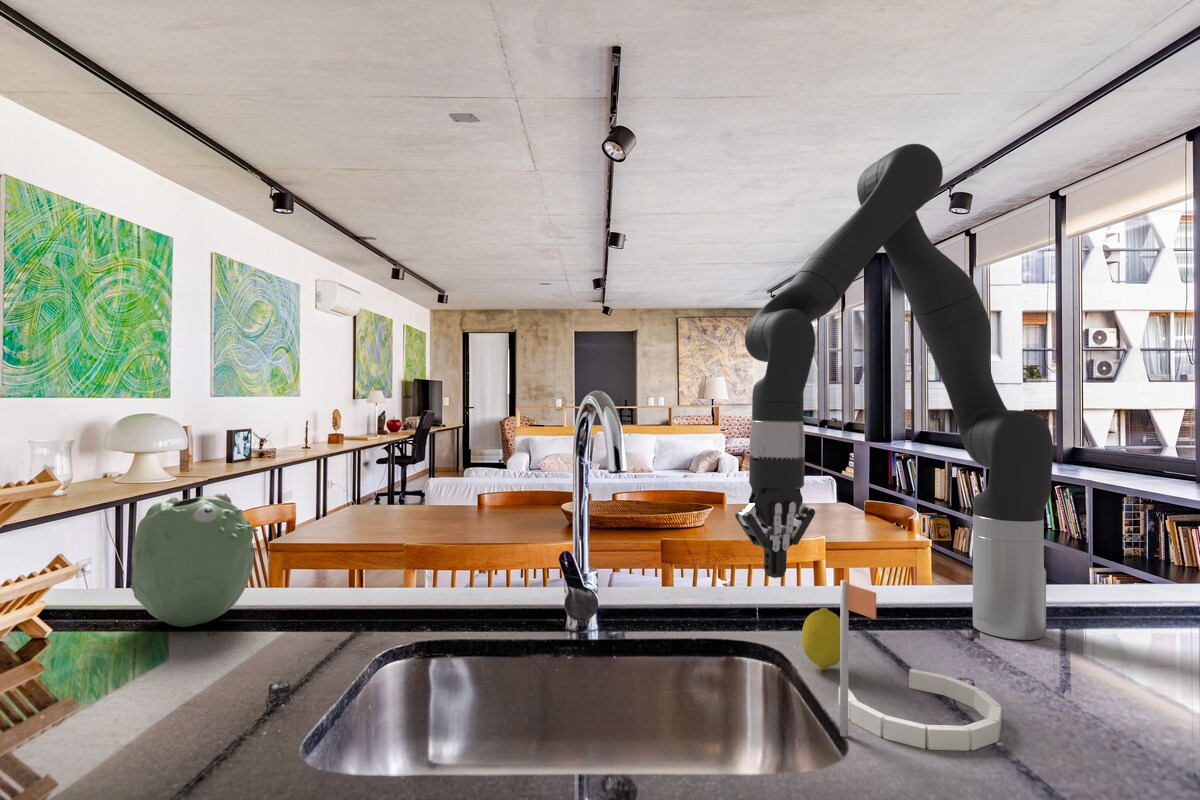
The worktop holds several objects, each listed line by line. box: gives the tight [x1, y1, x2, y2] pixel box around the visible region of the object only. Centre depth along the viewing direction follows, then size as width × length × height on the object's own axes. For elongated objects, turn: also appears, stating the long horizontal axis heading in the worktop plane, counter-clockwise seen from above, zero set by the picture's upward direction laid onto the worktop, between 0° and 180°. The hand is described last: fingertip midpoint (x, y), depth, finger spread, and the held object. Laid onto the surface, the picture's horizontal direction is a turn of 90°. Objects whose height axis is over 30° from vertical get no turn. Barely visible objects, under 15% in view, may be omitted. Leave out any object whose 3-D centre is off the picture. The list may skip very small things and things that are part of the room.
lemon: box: [801, 607, 840, 671], centre depth 90 cm, size 6×6×8 cm
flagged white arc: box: [838, 579, 1002, 752], centre depth 75 cm, size 19×14×16 cm
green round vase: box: [129, 493, 259, 628], centre depth 107 cm, size 16×19×20 cm
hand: (774, 576), depth 98 cm, fingers closed
